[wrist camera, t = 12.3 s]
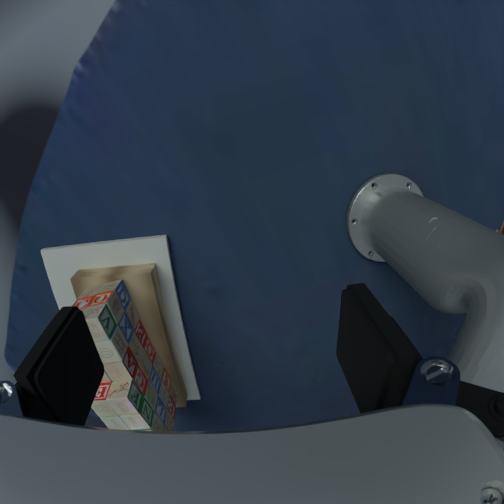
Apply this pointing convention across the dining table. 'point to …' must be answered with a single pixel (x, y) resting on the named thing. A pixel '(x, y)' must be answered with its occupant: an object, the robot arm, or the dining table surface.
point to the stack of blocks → (127, 363)
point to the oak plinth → (141, 310)
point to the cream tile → (122, 254)
